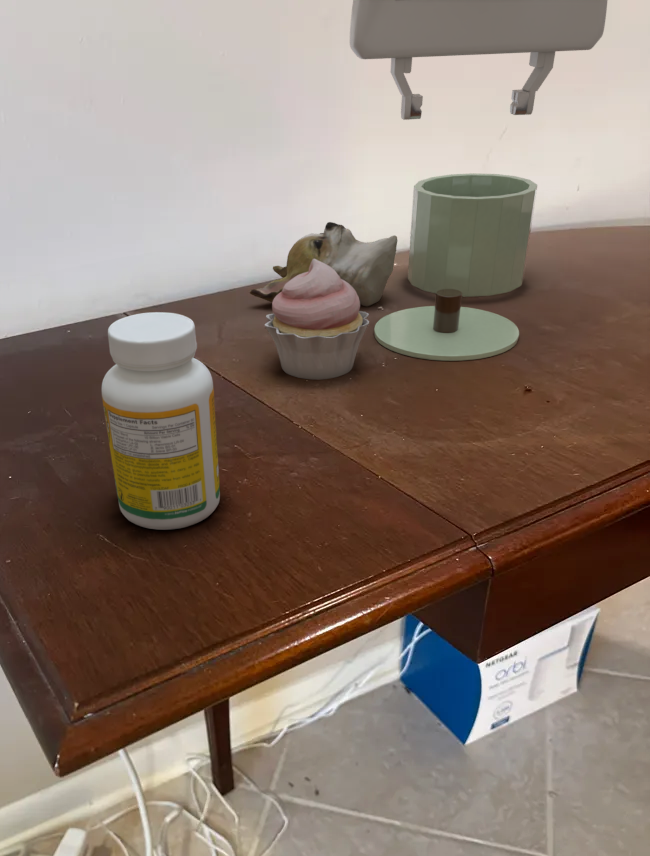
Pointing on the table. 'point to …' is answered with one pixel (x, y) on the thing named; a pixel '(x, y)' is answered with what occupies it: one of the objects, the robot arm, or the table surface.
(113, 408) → the supplement bottle
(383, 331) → the canister lid
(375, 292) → the ceramic sculpture
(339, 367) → the cupcake
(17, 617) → the table surface
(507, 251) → the canister
